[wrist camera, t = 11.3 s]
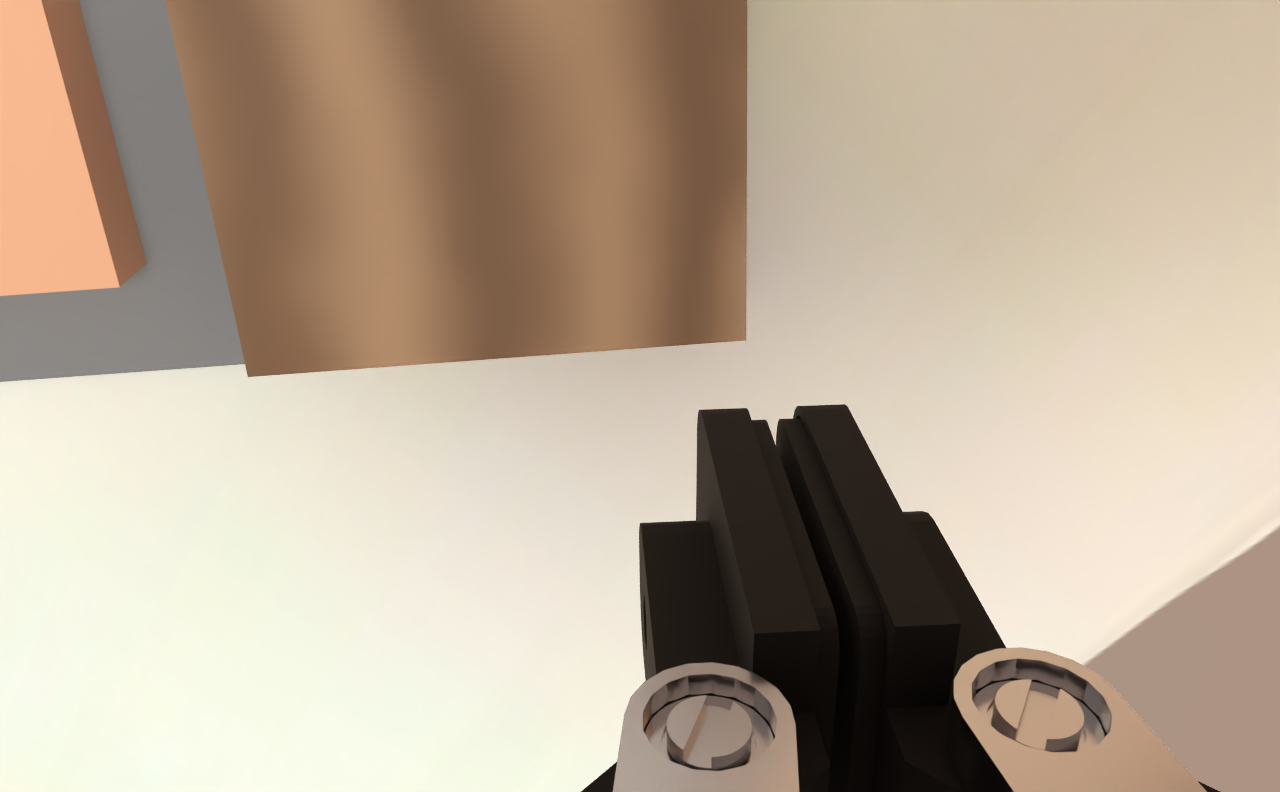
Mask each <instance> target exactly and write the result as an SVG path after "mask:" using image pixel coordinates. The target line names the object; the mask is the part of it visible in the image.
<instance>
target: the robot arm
mask: <svg viewBox="0 0 1280 792" xmlns="http://www.w3.org/2000/svg"><path fill="white" fill-rule="evenodd" d="M639 555H640V600H641V623H642V641H643V655H644V667H645V678H646V681H645V682H644V683H643V684H642V685H641V686H640V687H639V689H638V690H637V691H636V692H635V693H634V694H633V695H632V696H631V698H630V701H629V704H628V706H627V709H626V712H625V714H624V720H623V727H622V733H621V740H620V747H619V753H618V760H617V762H616V763H615V764H614V765H613V766H611V767H610V768H609V769H608V770H607V771H605V772H604V773H603V774H602V775H601V776H599V777H598V778H597V779H596V780H595V781H593V782H592V783H591V784H590V785H589V786H587V787H586V788H585V789H584V790H583V791H581V792H1219V791H1217V790H1215V789H1213V788H1211V787H1209V786H1207V785H1205V784H1203V783H1201V782H1199V781H1197V780H1196V779H1195V778H1194V777H1193V776H1192V775H1191V773H1190V772H1189V771H1188V770H1187V769H1186V768H1185V767H1184V766H1183V765H1182V763H1181V762H1180V761H1179V760H1178V759H1177V758H1176V757H1175V756H1174V754H1173V753H1172V752H1171V751H1170V750H1169V749H1168V748H1167V747H1166V745H1165V744H1164V743H1163V742H1162V741H1161V740H1160V739H1159V738H1158V736H1157V735H1156V734H1155V733H1154V732H1153V731H1152V730H1151V729H1150V728H1149V727H1148V725H1147V724H1146V723H1145V722H1144V721H1143V720H1142V719H1141V717H1140V716H1139V715H1138V714H1137V713H1136V712H1135V711H1134V710H1133V709H1132V707H1131V706H1130V705H1129V704H1128V703H1127V702H1126V701H1125V700H1124V698H1123V697H1122V696H1121V695H1120V694H1119V693H1118V692H1117V691H1116V690H1115V689H1114V688H1113V687H1112V686H1111V685H1110V684H1108V683H1107V682H1106V681H1105V680H1104V679H1103V678H1101V677H1100V676H1099V675H1098V674H1097V673H1095V672H1093V671H1092V670H1090V669H1088V668H1086V667H1084V666H1083V665H1081V664H1079V663H1077V662H1076V661H1074V660H1071V659H1068V658H1065V657H1062V656H1059V655H1056V654H1053V653H1050V652H1047V651H1041V650H1034V649H1028V648H1006V647H1005V645H1004V643H1003V641H1002V640H1001V638H1000V636H999V634H998V633H997V631H996V629H995V627H994V626H993V624H992V622H991V620H990V618H989V617H988V615H987V613H986V611H985V610H984V608H983V606H982V604H981V603H980V601H979V599H978V597H977V595H976V594H975V592H974V590H973V588H972V587H971V585H970V583H969V581H968V580H967V578H966V576H965V574H964V573H963V571H962V569H961V567H960V565H959V564H958V562H957V560H956V558H955V557H954V555H953V553H952V551H951V550H950V548H949V546H948V544H947V542H946V541H945V539H944V537H943V535H942V534H941V532H940V530H939V528H938V527H937V525H936V523H935V521H934V520H933V518H932V517H931V516H930V515H929V513H927V512H923V511H916V512H902V510H901V508H900V506H899V504H898V502H897V500H896V498H895V496H894V495H893V493H892V491H891V489H890V487H889V485H888V483H887V481H886V479H885V477H884V475H883V474H882V472H881V470H880V468H879V466H878V464H877V462H876V460H875V458H874V456H873V454H872V452H871V451H870V449H869V447H868V445H867V443H866V441H865V439H864V437H863V435H862V433H861V431H860V430H859V428H858V426H857V424H856V422H855V420H854V418H853V416H852V414H851V412H850V410H849V409H848V407H847V406H846V405H819V406H797V407H796V409H795V412H794V417H793V419H779V421H778V425H777V436H776V445H775V443H774V440H773V437H772V434H771V431H770V429H769V426H768V423H767V421H766V420H751V417H750V414H749V411H748V409H747V408H739V409H712V410H699V413H698V423H697V496H696V521H679V522H655V523H640V527H639Z"/></svg>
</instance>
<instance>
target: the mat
mask: <svg viewBox="0 0 1280 792" xmlns="http://www.w3.org/2000/svg"><path fill="white" fill-rule="evenodd" d="M79 4H80V8H81V12H82V16H83V19H84V23H85V27H86V31H87V35H88V39H89V43H90V46H91V50H92V54H93V58H94V62H95V66H96V70H97V73H98V77H99V81H100V85H101V89H102V93H103V97H104V100H105V104H106V108H107V112H108V116H109V120H110V124H111V127H112V131H113V135H114V139H115V143H116V147H117V151H118V154H119V158H120V162H121V166H122V170H123V174H124V178H125V181H126V185H127V189H128V193H129V197H130V201H131V205H132V208H133V212H134V216H135V220H136V224H137V228H138V232H139V235H140V239H141V243H142V247H143V251H144V255H145V259H146V262H147V263H146V264H145V265H144V266H143V267H142V268H141V269H139V270H138V271H137V272H136V273H135V274H134V275H133V276H132V277H131V278H130V279H128V280H127V281H126V282H125V283H124V284H123V285H122V286H121V287H118V288H104V289H90V290H76V291H62V292H48V293H35V294H21V295H7V296H0V382H3V381H17V380H31V379H45V378H58V377H72V376H86V375H100V374H114V373H127V372H141V371H155V370H169V369H182V368H196V367H210V366H224V365H238V364H245V361H244V356H243V352H242V347H241V343H240V338H239V334H238V329H237V325H236V320H235V316H234V311H233V306H232V302H231V297H230V293H229V288H228V284H227V279H226V275H225V270H224V266H223V261H222V257H221V252H220V248H219V243H218V239H217V234H216V229H215V225H214V220H213V216H212V211H211V207H210V202H209V198H208V193H207V189H206V184H205V180H204V175H203V171H202V166H201V162H200V157H199V152H198V148H197V143H196V139H195V134H194V130H193V125H192V121H191V116H190V112H189V107H188V103H187V98H186V94H185V89H184V85H183V80H182V75H181V71H180V66H179V62H178V57H177V53H176V48H175V44H174V39H173V35H172V30H171V26H170V21H169V17H168V12H167V8H166V3H165V0H79Z"/></svg>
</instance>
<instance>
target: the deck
mask: <svg viewBox="0 0 1280 792" xmlns="http://www.w3.org/2000/svg"><path fill="white" fill-rule="evenodd" d="M165 3H166V8H167V12H168V17H169V21H170V26H171V30H172V35H173V39H174V44H175V48H176V53H177V57H178V62H179V66H180V71H181V75H182V80H183V85H184V89H185V94H186V98H187V103H188V107H189V112H190V116H191V121H192V125H193V130H194V134H195V139H196V143H197V148H198V152H199V157H200V162H201V166H202V171H203V175H204V180H205V184H206V189H207V193H208V198H209V202H210V207H211V211H212V216H213V220H214V225H215V229H216V234H217V239H218V243H219V248H220V252H221V257H222V261H223V266H224V270H225V275H226V279H227V284H228V288H229V293H230V297H231V302H232V306H233V311H234V316H235V320H236V325H237V329H238V334H239V338H240V343H241V347H242V352H243V356H244V361H245V365H246V370H247V374H248V377H253V376H266V375H280V374H294V373H307V372H321V371H334V370H348V369H362V368H375V367H389V366H403V365H416V364H430V363H443V362H457V361H471V360H484V359H498V358H511V357H525V356H539V355H552V354H566V353H580V352H593V351H607V350H620V349H634V348H648V347H661V346H675V345H689V344H702V343H716V342H729V341H743V340H746V175H747V0H165Z"/></svg>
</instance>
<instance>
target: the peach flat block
mask: <svg viewBox="0 0 1280 792" xmlns="http://www.w3.org/2000/svg"><path fill="white" fill-rule="evenodd" d="M146 263H147V262H146V259H145V255H144V251H143V247H142V243H141V239H140V235H139V232H138V228H137V224H136V220H135V216H134V212H133V208H132V205H131V201H130V197H129V193H128V189H127V185H126V181H125V178H124V174H123V170H122V166H121V162H120V158H119V154H118V151H117V147H116V143H115V139H114V135H113V131H112V127H111V124H110V120H109V116H108V112H107V108H106V104H105V100H104V97H103V93H102V89H101V85H100V81H99V77H98V73H97V70H96V66H95V62H94V58H93V54H92V50H91V46H90V43H89V39H88V35H87V31H86V27H85V23H84V19H83V16H82V12H81V8H80V4H79V0H0V296H7V295H21V294H35V293H48V292H62V291H76V290H90V289H104V288H118V287H121V286H122V285H123V284H124V283H125V282H126V281H127V280H128V279H130V278H131V277H132V276H133V275H134V274H135V273H136V272H137V271H138V270H139V269H141V268H142V267H143V266H144V265H145V264H146Z"/></svg>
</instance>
